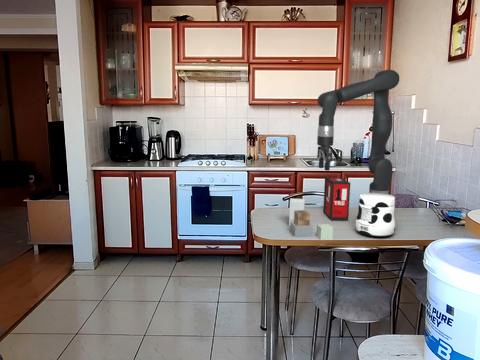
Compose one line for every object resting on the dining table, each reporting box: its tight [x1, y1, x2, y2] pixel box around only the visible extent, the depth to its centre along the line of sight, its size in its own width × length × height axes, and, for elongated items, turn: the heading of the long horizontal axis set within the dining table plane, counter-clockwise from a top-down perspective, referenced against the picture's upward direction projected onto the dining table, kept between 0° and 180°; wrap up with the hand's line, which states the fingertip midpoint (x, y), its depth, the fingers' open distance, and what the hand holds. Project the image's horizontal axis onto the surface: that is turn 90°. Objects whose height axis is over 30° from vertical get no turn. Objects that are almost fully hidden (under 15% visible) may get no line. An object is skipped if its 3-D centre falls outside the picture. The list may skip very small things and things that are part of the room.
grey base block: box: [289, 222, 314, 238], centre depth 181 cm, size 8×8×5 cm
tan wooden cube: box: [294, 209, 311, 225], centre depth 180 cm, size 6×6×6 cm
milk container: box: [355, 192, 396, 238], centre depth 181 cm, size 17×17×18 cm
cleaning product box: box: [322, 176, 351, 222], centre depth 210 cm, size 16×9×20 cm, turn 2°
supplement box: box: [288, 198, 306, 227], centre depth 195 cm, size 7×7×13 cm
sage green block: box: [316, 223, 334, 241], centre depth 176 cm, size 6×6×6 cm
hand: (323, 169), depth 191 cm, fingers open, 8 cm apart
